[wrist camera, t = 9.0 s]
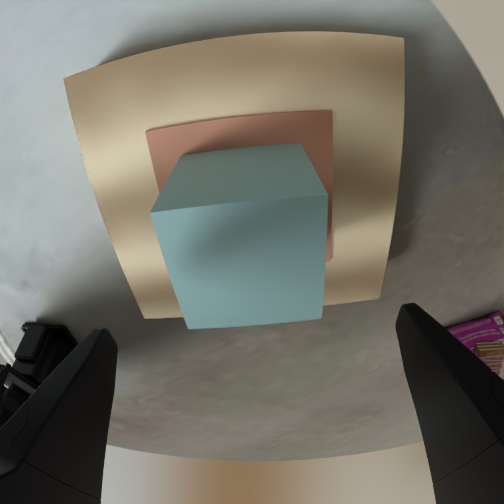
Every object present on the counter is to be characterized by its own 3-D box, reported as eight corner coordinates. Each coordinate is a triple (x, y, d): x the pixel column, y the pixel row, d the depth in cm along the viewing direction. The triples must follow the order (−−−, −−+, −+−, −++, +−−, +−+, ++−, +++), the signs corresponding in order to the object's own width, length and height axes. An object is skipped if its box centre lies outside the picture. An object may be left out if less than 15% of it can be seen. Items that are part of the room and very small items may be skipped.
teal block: (302, 242, 17) (321, 318, 13) (201, 251, 17) (188, 329, 13) (300, 142, 14) (327, 195, 9) (180, 155, 14) (150, 212, 10)
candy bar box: (501, 307, 26) (562, 428, 13) (487, 335, 29) (537, 447, 16) (420, 331, 27) (473, 482, 14) (410, 359, 30) (451, 493, 17)
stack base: (367, 270, 22) (380, 300, 20) (153, 289, 23) (143, 320, 21) (379, 38, 13) (405, 38, 10) (89, 71, 14) (61, 79, 11)
